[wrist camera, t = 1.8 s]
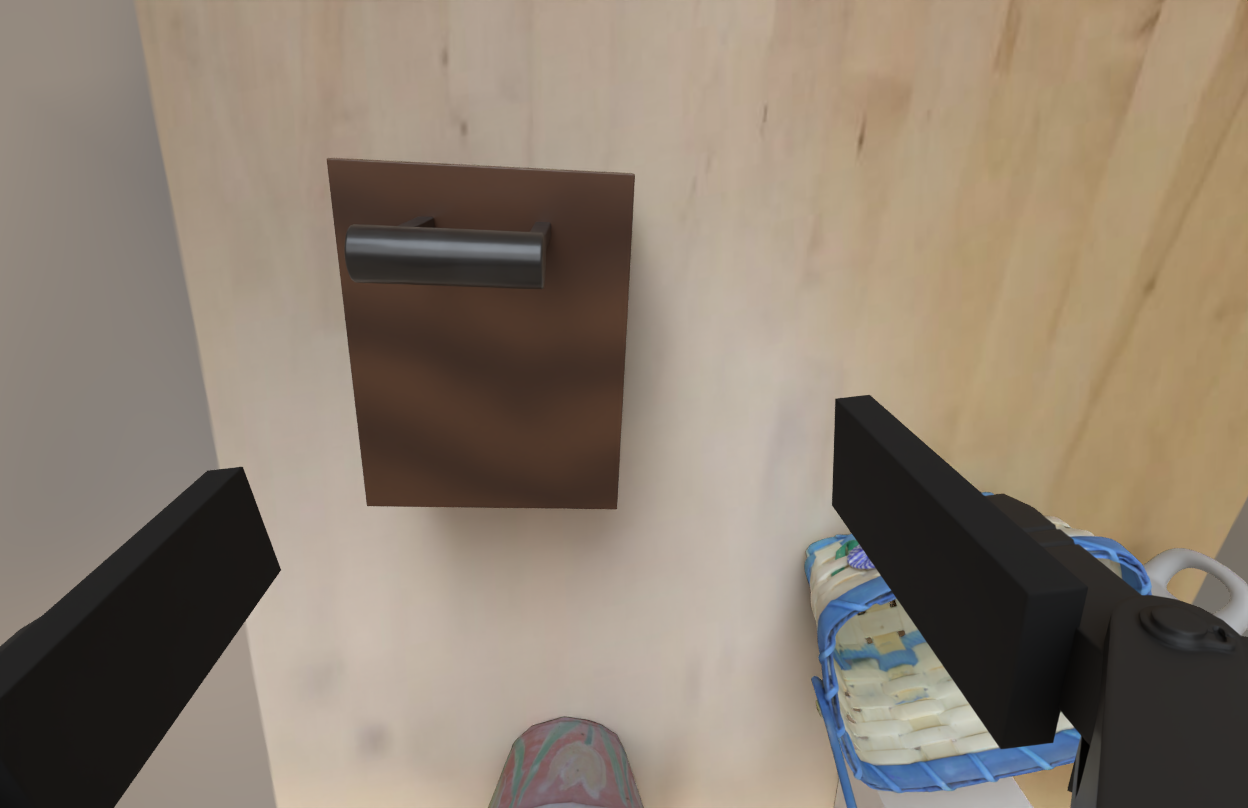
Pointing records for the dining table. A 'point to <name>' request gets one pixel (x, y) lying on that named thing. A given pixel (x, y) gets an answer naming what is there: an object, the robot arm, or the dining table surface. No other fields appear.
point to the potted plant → (567, 769)
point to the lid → (485, 330)
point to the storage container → (937, 795)
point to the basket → (913, 682)
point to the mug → (1244, 601)
